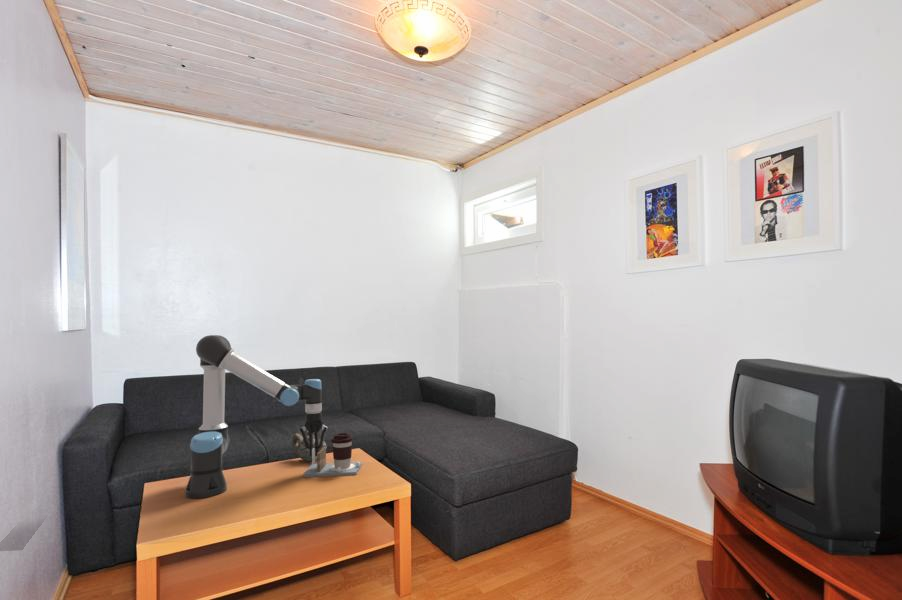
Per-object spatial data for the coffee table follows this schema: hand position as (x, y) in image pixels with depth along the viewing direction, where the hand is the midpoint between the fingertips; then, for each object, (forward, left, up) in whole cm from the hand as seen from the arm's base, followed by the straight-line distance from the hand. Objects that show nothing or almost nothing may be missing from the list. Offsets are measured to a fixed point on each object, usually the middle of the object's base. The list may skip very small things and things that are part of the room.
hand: (314, 463), depth 216 cm
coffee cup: (+13, 0, -2) cm, 13 cm away
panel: (+3, 0, -2) cm, 3 cm away
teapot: (-8, +20, -4) cm, 22 cm away
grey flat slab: (+9, 0, -4) cm, 10 cm away
